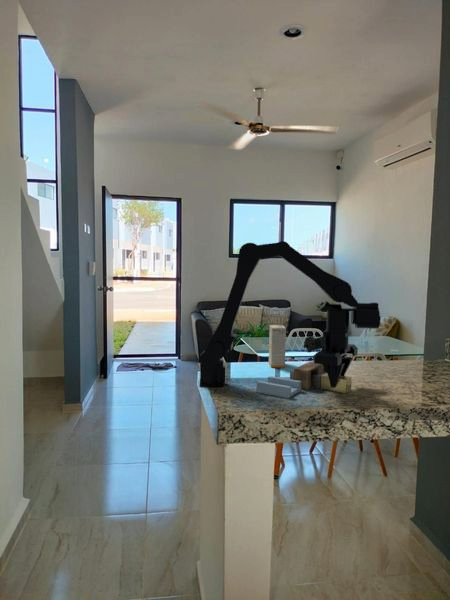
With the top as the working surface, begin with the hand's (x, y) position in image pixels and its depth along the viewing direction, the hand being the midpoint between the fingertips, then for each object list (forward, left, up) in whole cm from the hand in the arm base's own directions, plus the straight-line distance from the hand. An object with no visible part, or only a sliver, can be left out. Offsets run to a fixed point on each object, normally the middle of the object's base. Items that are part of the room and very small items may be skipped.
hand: (335, 385), depth 112 cm
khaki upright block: (0, 0, -1) cm, 1 cm away
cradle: (-16, -2, -1) cm, 16 cm away
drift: (-7, +5, -1) cm, 8 cm away
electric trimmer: (+4, +20, -2) cm, 21 cm away
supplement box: (-11, +29, -1) cm, 31 cm away
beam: (-6, +6, -1) cm, 8 cm away
